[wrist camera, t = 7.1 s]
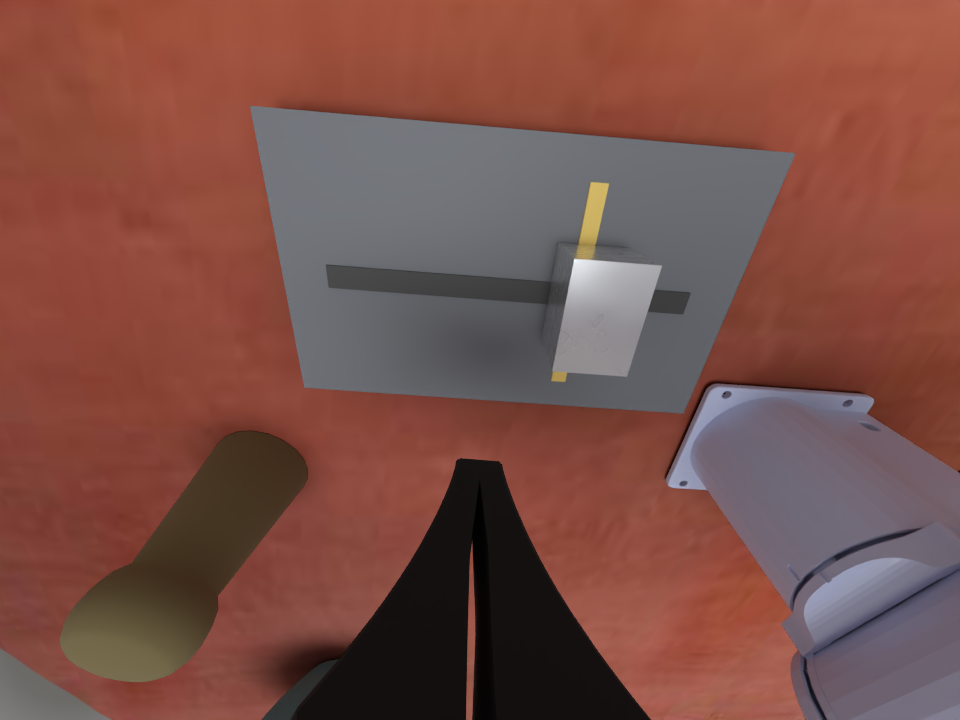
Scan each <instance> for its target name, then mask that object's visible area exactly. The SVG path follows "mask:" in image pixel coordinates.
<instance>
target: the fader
mask: <svg viewBox="0 0 960 720" xmlns="http://www.w3.org/2000/svg"><path fill="white" fill-rule="evenodd" d="M661 268H662V265H660V264H658V263H656V262H654V261H653V260H651V259H649V258H647V257H645V256H643V255H641V254H640V253H638V252H636V251H634V250H632V249H630V248H619V247H606V246H594V245H581V244H569V243H558V247H557V253H556V258H555V264H554V270H553V276H552V282H551V287H550V293H549V299H548V305H547V310H546V316H545V322H544V328H543V334H542V342H543V345H544V348H545V351H546V354H547V357H548V361H549V364H550V367H551V370H552V371H553V372H567V373H581V374H595V375H609V376H623V377H627V375H628V372H629V369H630V366H631V362H632V359H633V356H634V353H635V350H636V347H637V343H638V340H639V337H640V334H641V331H642V328H643V324H644V321H645V318H646V315H647V312H648V309H649V306H650V302H651V299H652V296H653V293H654V290H655V287H656V283H657V280H658V277H659V274H660V271H661Z"/></svg>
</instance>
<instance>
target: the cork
mask: <svg viewBox="0 0 960 720" xmlns="http://www.w3.org/2000/svg"><path fill="white" fill-rule="evenodd" d="M307 479H308V469H307V466H306V464H305V461H304V459H303V458H302V456H301V455H300V454H299V453H298V452H297V451H296V450H295V448H293V447H292V446H290V445H289V444H288V443H286V442H285V441H283V440H281V439H279V438H277V437H274V436H272V435H270V434H267V433H261V432H256V431H240V432H235V433H233V434H230V435H227V436H225V437H224V438H223V439H222V440H221V441H220V442H219V443H218V444H217V446H216V447H215V448H214V450H213V451H212V453H211V454H210V455H209V457H208V458H207V460H206V461H205V462H204V464H203V465H202V466H201V468H200V469H199V471H198V472H197V473H196V475H195V476H194V478H193V479H192V480H191V482H190V483H189V485H188V486H187V487H186V489H185V490H184V491H183V493H182V494H181V496H180V497H179V498H178V500H177V501H176V503H175V504H174V505H173V507H172V508H171V509H170V511H169V512H168V514H167V515H166V516H165V518H164V519H163V521H162V522H161V523H160V525H159V526H158V527H157V529H156V530H155V532H154V533H153V534H152V536H151V537H150V539H149V540H148V541H147V543H146V544H145V545H144V547H143V548H142V550H141V551H140V552H139V554H138V555H137V557H136V558H135V559H134V561H133V562H132V563H131V564H129V565H126V566H124V567H122V568H119V569H117V570H115V571H113V572H112V573H110V574H109V575H108V576H106V577H105V578H104V579H102V580H101V581H100V582H98V583H97V584H96V585H95V586H94V587H93V588H91V589H90V590H89V591H88V592H87V593H86V594H85V595H84V596H83V597H82V599H81V600H80V601H79V602H78V603H77V604H76V605H75V606H74V608H73V609H72V611H71V612H70V614H69V616H68V617H67V619H66V620H65V623H64V626H63V630H62V633H61V637H60V646H61V648H62V650H63V652H64V654H65V655H66V657H67V658H68V659H69V660H70V661H71V662H72V663H74V664H75V665H76V666H78V667H80V668H82V669H84V670H86V671H88V672H90V673H93V674H95V675H98V676H101V677H105V678H109V679H113V680H120V681H129V682H147V681H152V680H156V679H159V678H163V677H166V676H168V675H170V674H171V673H173V672H175V671H176V670H177V669H178V668H180V667H181V666H182V665H184V664H185V663H186V662H188V661H189V660H190V659H191V657H192V656H193V655H194V654H195V653H196V652H197V650H198V649H199V648H200V647H201V645H202V644H203V642H204V640H205V638H206V637H207V635H208V633H209V631H210V629H211V627H212V625H213V623H214V620H215V617H216V614H217V611H218V595H219V594H220V593H221V591H222V590H223V589H224V588H225V586H226V585H227V584H228V582H229V581H230V580H231V579H232V577H233V576H234V575H235V573H236V572H237V571H238V570H239V568H240V567H241V566H242V565H243V563H244V562H245V561H246V559H247V558H248V557H249V556H250V554H251V553H252V552H253V550H254V549H255V548H256V547H257V545H258V544H259V543H260V542H261V540H262V539H263V538H264V536H265V535H266V534H267V533H268V531H269V530H270V529H271V527H272V526H273V525H274V524H275V522H276V521H277V520H278V519H279V517H280V516H281V515H282V513H283V512H284V511H285V510H286V508H287V507H288V506H289V504H290V503H291V502H292V501H293V499H294V498H295V497H296V495H297V494H298V493H299V492H300V490H301V489H302V488H303V486H304V484H305V483H306V481H307Z"/></svg>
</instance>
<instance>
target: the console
mask: <svg viewBox="0 0 960 720" xmlns="http://www.w3.org/2000/svg"><path fill="white" fill-rule="evenodd" d="M250 108H251V114H252V119H253V124H254V129H255V134H256V139H257V145H258V150H259V155H260V160H261V165H262V171H263V176H264V181H265V186H266V191H267V196H268V202H269V207H270V212H271V217H272V222H273V228H274V233H275V238H276V243H277V248H278V253H279V259H280V264H281V269H282V274H283V279H284V285H285V290H286V295H287V300H288V305H289V310H290V316H291V321H292V326H293V331H294V336H295V342H296V347H297V352H298V357H299V362H300V367H301V373H302V378H303V383H304V388H318V389H332V390H347V391H361V392H376V393H390V394H405V395H419V396H434V397H448V398H463V399H477V400H492V401H507V402H521V403H536V404H550V405H565V406H579V407H594V408H608V409H623V410H637V411H652V412H666V413H681V414H683V413H684V411H685V409H686V407H687V404H688V402H689V400H690V397H691V395H692V393H693V390H694V388H695V386H696V383H697V381H698V379H699V376H700V374H701V372H702V369H703V367H704V365H705V362H706V360H707V358H708V355H709V353H710V351H711V348H712V346H713V344H714V341H715V339H716V337H717V335H718V332H719V330H720V328H721V325H722V323H723V321H724V318H725V316H726V314H727V311H728V309H729V307H730V304H731V302H732V300H733V297H734V295H735V293H736V290H737V288H738V286H739V283H740V281H741V279H742V276H743V274H744V272H745V269H746V267H747V265H748V263H749V260H750V258H751V256H752V253H753V251H754V249H755V246H756V244H757V242H758V239H759V237H760V235H761V232H762V230H763V228H764V225H765V223H766V221H767V218H768V216H769V214H770V211H771V209H772V207H773V204H774V202H775V200H776V197H777V195H778V193H779V191H780V188H781V186H782V184H783V181H784V179H785V177H786V174H787V172H788V170H789V167H790V165H791V163H792V160H793V158H794V156H795V153H788V152H776V151H765V150H753V149H741V148H730V147H718V146H707V145H695V144H684V143H672V142H661V141H649V140H638V139H626V138H615V137H603V136H592V135H580V134H569V133H557V132H546V131H534V130H523V129H511V128H500V127H488V126H476V125H465V124H453V123H442V122H430V121H419V120H407V119H396V118H384V117H373V116H361V115H350V114H338V113H327V112H315V111H304V110H292V109H281V108H269V107H258V106H250ZM558 243H569V244H581V245H594V246H606V247H619V248H630V249H632V250H634V251H636V252H638V253H640V254H641V255H643V256H645V257H647V258H649V259H651V260H653V261H654V262H656V263H658V264H660V265H662V268H661V271H660V274H659V277H658V280H657V283H656V287H655V290H654V293H653V296H652V299H651V302H650V306H649V309H648V312H647V315H646V318H645V321H644V324H643V328H642V331H641V334H640V337H639V340H638V343H637V347H636V350H635V353H634V356H633V359H632V362H631V366H630V369H629V372H628V375H627V377H623V376H609V375H595V374H581V373H567V372H553V371H552V370H551V367H550V364H549V361H548V357H547V354H546V351H545V348H544V345H543V342H542V334H543V328H544V322H545V316H546V310H547V305H548V299H549V293H550V287H551V282H552V276H553V270H554V264H555V258H556V253H557V247H558Z"/></svg>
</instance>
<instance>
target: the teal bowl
mask: <svg viewBox="0 0 960 720" xmlns="http://www.w3.org/2000/svg"><path fill="white" fill-rule="evenodd" d="M337 661H338V659H336V660H330V661H326V662H323V663H321V664H319V665H318V666H316V667H315V668H313V669H312V670H311V671H310V672H308V673H307V674H306V675H305V676H304V677H303V678H302V679H301V680H299V681H298V682H297V683H296V684H295V685H294V686H293V687H292V688H291V689H290V690H289V691H288V692H287V693H286V694H285V695H284V696H283V697H282V698H281V699H280V700H279V701H278V702H277V703H276V704H275V705H274V706H273V707H272V708H271V709H270V710H269V712H268V713H267V714H266V715H265V716H264V717H263V719H262V720H290V719H291V717H292V716H293V714H294V712H295V711H296V709H297V707H298V706H299V705H300V704H301V702H302V701H303V700H304V699H305V698H306V697H307V695H308V694H309V693H310V692H311V691H312V690H313V688H314V687H315V686H316V685H317V684H318V683H319V682H320V680H321V679H322V678H323V677H324V676H325V675H326V673H327V672H328V671H329V670H330V669H331V668H332V666H333V665H334V664H335V663H336V662H337Z"/></svg>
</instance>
